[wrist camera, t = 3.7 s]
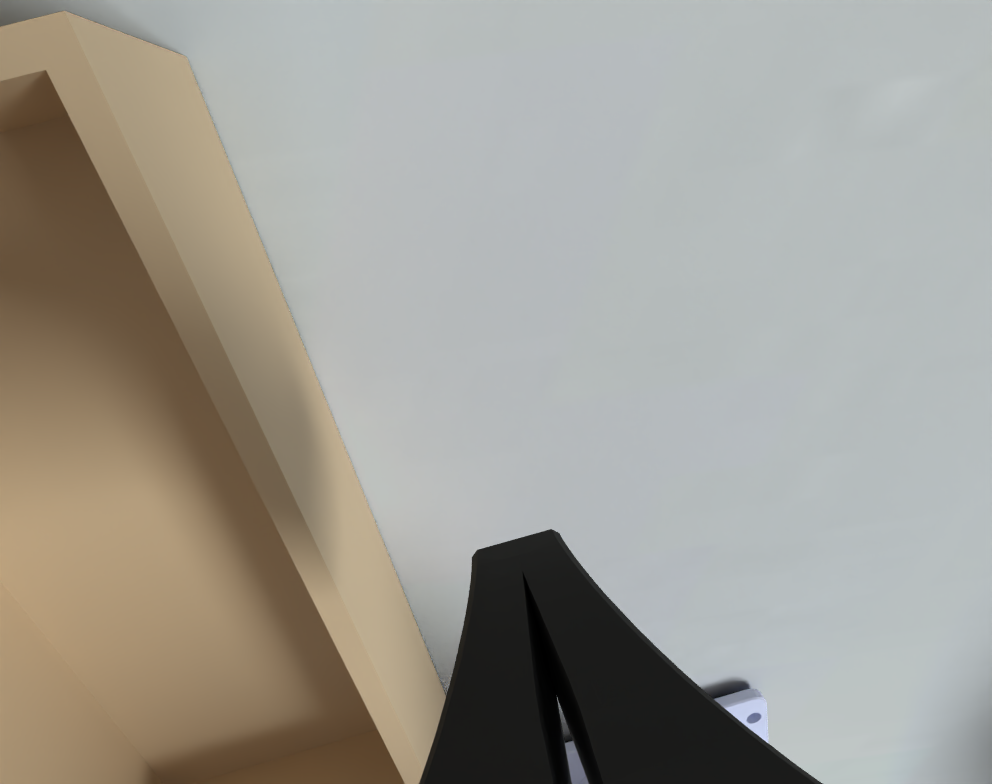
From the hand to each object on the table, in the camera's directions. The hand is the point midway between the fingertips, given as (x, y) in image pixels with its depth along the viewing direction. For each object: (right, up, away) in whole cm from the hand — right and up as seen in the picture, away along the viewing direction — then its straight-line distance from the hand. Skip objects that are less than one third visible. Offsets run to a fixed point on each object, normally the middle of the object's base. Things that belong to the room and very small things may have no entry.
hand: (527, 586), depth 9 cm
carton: (-8, 0, +5) cm, 10 cm away
